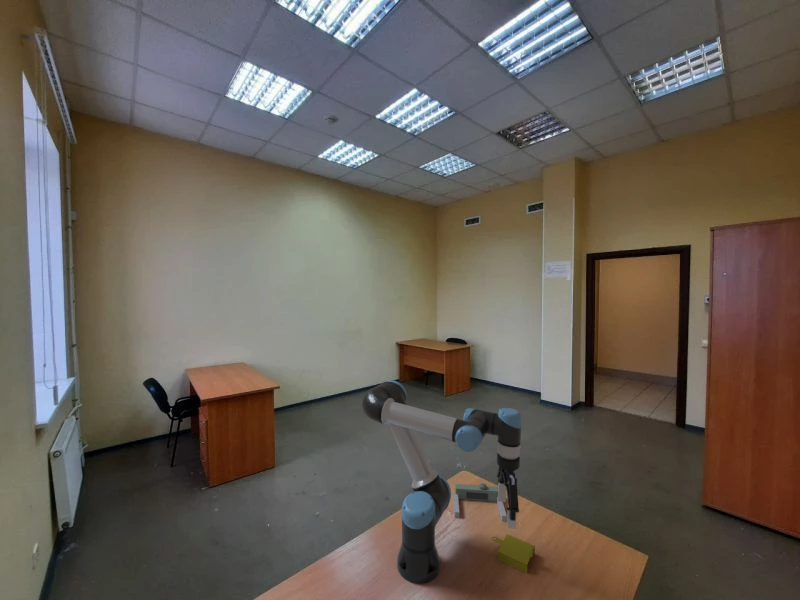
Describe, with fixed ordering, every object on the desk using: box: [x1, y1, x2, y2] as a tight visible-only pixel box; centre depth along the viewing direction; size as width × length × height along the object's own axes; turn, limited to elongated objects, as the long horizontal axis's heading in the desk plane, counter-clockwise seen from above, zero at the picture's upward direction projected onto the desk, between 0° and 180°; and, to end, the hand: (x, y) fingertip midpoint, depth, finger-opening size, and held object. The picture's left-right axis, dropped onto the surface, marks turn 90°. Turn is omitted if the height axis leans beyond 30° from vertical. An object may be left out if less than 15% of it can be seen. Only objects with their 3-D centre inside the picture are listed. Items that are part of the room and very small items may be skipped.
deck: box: [453, 483, 507, 522], centre depth 151 cm, size 22×17×6 cm
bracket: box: [491, 533, 536, 574], centre depth 122 cm, size 16×8×15 cm
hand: (506, 513), depth 116 cm, fingers open, 13 cm apart
